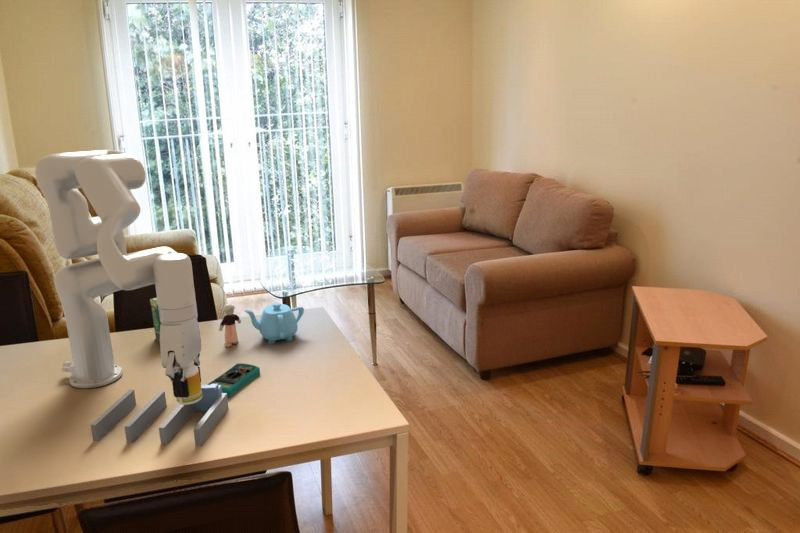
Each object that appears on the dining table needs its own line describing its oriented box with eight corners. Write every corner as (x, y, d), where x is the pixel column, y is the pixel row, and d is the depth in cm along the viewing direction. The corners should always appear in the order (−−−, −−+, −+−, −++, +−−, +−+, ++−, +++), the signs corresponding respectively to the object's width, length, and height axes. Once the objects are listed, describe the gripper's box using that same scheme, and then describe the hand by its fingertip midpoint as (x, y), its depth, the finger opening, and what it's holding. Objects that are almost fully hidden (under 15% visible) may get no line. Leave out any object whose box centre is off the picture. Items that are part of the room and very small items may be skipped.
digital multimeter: (262, 374, 162) (261, 364, 161) (229, 400, 148) (228, 389, 148) (238, 370, 164) (237, 360, 164) (204, 395, 151) (203, 385, 150)
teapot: (307, 335, 187) (306, 301, 185) (277, 350, 175) (276, 313, 173) (276, 329, 193) (274, 295, 191) (245, 343, 181) (243, 307, 179)
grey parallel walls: (93, 441, 131) (88, 413, 129) (131, 404, 146) (127, 379, 144) (200, 446, 128) (197, 417, 127) (228, 408, 144) (225, 382, 142)
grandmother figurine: (229, 349, 177) (225, 308, 174) (218, 346, 179) (214, 306, 175) (246, 339, 184) (242, 300, 180) (236, 337, 185) (232, 298, 182)
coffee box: (154, 338, 186) (149, 298, 182) (164, 336, 187) (159, 296, 184) (160, 346, 179) (155, 305, 176) (170, 344, 181) (165, 303, 177)
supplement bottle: (207, 396, 134) (202, 355, 131) (190, 407, 129) (184, 365, 126) (189, 392, 136) (183, 352, 133) (171, 403, 131) (164, 362, 129)
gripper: (179, 298, 135) (188, 372, 140) (140, 326, 119) (152, 408, 124) (211, 299, 135) (219, 373, 140) (177, 327, 118) (187, 410, 123)
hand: (187, 389), depth 132 cm, fingers closed on supplement bottle, 5 cm apart
